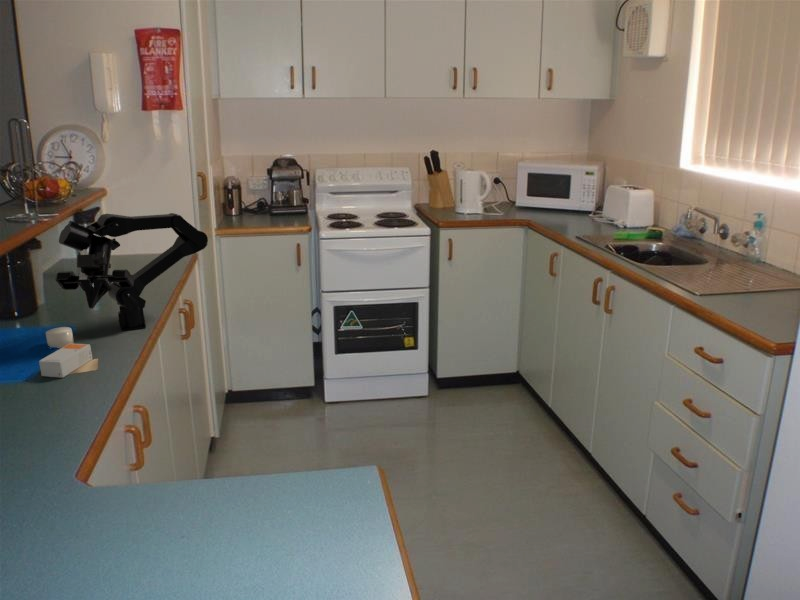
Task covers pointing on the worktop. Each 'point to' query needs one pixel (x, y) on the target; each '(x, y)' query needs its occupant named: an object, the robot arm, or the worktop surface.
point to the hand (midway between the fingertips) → (90, 307)
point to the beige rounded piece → (59, 337)
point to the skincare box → (65, 360)
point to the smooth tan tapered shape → (87, 367)
